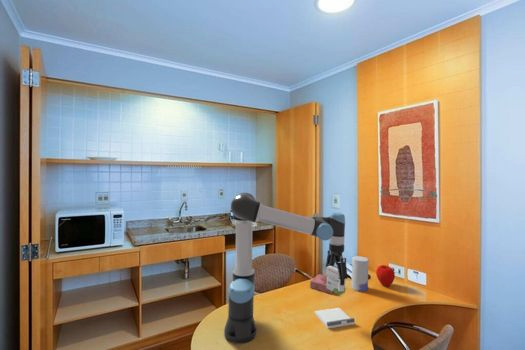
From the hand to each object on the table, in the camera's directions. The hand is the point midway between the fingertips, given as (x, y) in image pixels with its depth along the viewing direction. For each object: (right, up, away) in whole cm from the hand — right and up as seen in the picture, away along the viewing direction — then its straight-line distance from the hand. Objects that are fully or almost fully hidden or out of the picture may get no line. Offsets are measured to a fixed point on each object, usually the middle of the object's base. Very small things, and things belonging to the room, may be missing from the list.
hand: (335, 286), depth 136 cm
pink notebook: (+3, -17, +38) cm, 42 cm away
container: (+26, -17, +37) cm, 48 cm away
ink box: (0, -2, 0) cm, 2 cm away
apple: (+45, -17, +43) cm, 65 cm away
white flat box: (-1, -17, +1) cm, 17 cm away
